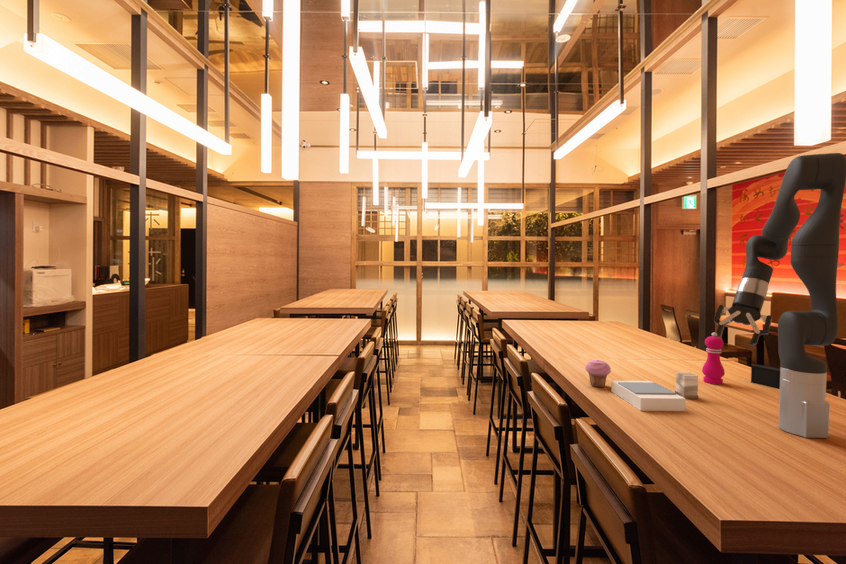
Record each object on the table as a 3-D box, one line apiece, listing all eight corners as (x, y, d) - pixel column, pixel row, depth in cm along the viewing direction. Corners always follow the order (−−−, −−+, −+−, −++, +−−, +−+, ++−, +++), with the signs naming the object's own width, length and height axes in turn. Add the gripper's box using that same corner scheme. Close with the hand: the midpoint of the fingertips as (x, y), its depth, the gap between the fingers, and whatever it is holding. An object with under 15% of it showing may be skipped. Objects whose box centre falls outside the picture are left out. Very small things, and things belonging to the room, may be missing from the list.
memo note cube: (698, 398, 137) (698, 375, 137) (683, 398, 137) (684, 375, 137) (688, 394, 142) (689, 372, 142) (674, 394, 142) (675, 372, 142)
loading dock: (685, 411, 125) (685, 397, 125) (640, 410, 125) (640, 396, 125) (649, 391, 145) (650, 379, 145) (611, 391, 145) (611, 379, 145)
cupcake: (585, 387, 149) (586, 361, 149) (584, 381, 158) (584, 356, 157) (611, 390, 146) (612, 363, 146) (609, 383, 155) (609, 358, 154)
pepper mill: (723, 381, 158) (724, 331, 158) (725, 386, 152) (726, 334, 152) (701, 379, 162) (702, 330, 162) (702, 383, 156) (703, 332, 156)
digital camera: (791, 388, 150) (791, 370, 150) (782, 390, 148) (783, 371, 148) (758, 381, 160) (759, 364, 160) (750, 382, 158) (751, 365, 157)
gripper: (722, 286, 132) (707, 331, 131) (778, 296, 122) (762, 346, 121) (725, 292, 137) (710, 336, 136) (779, 302, 127) (763, 350, 126)
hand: (735, 340), depth 128 cm, fingers open, 8 cm apart
